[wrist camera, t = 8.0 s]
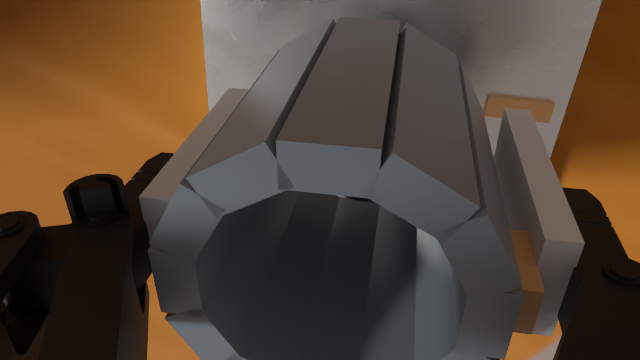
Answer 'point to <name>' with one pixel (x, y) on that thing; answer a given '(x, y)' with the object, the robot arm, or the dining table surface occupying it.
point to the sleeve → (348, 213)
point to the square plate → (439, 24)
